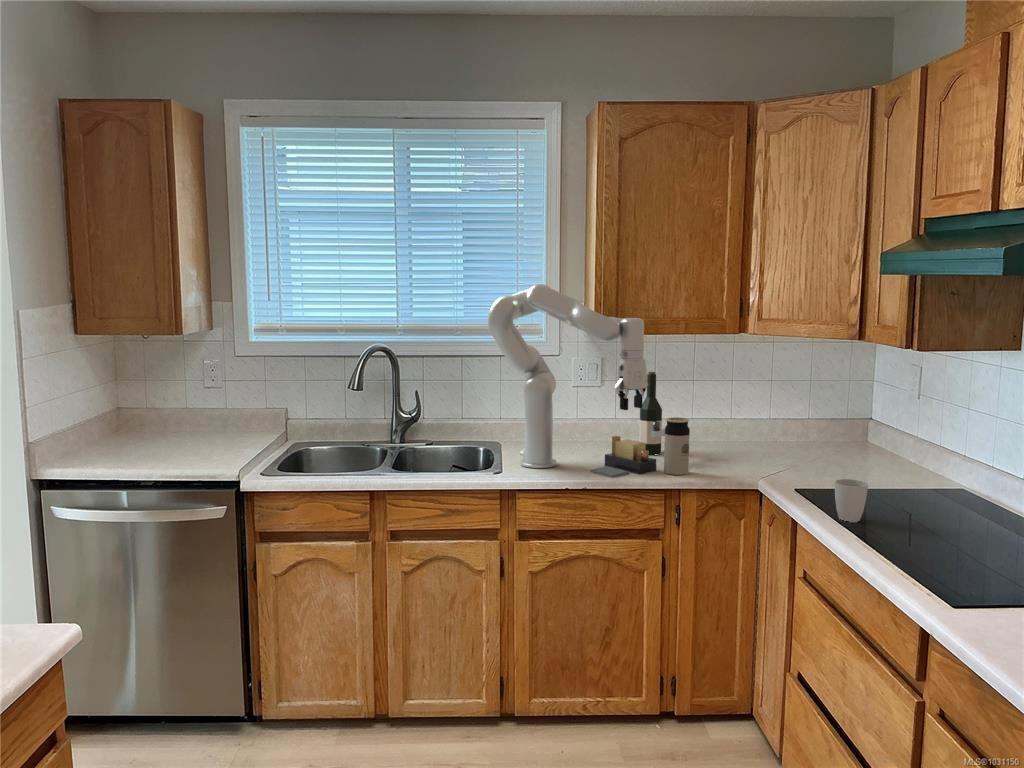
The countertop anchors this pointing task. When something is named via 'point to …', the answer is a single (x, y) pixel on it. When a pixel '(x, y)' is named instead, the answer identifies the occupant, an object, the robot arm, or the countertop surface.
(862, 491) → the cup
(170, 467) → the countertop surface
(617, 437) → the dark slate base plate
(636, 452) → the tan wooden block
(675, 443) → the travel mug
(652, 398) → the wine bottle
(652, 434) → the bar
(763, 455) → the countertop surface
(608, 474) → the rubber mat
